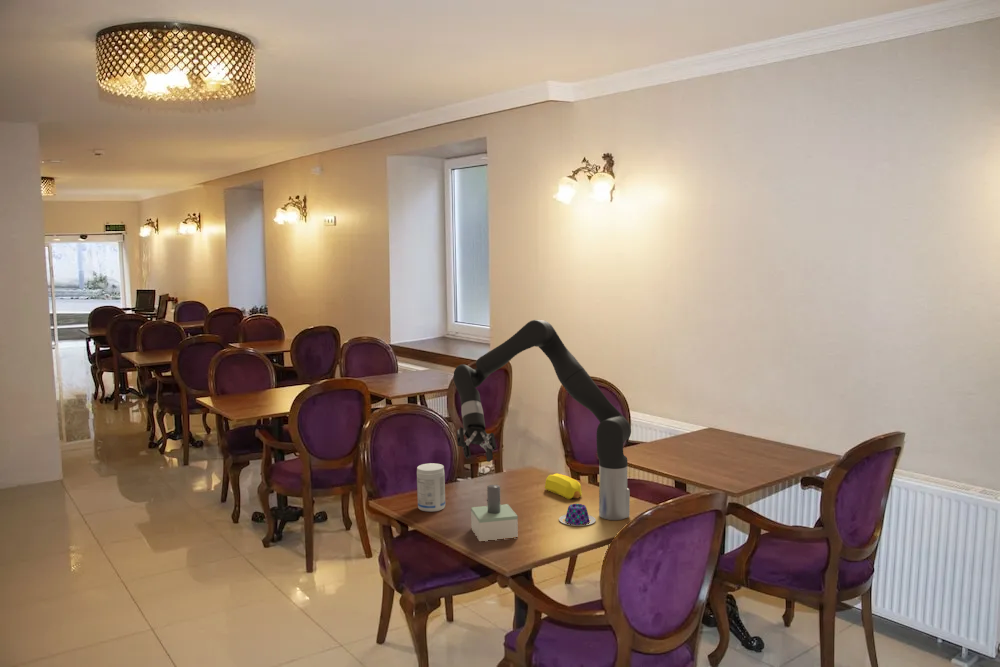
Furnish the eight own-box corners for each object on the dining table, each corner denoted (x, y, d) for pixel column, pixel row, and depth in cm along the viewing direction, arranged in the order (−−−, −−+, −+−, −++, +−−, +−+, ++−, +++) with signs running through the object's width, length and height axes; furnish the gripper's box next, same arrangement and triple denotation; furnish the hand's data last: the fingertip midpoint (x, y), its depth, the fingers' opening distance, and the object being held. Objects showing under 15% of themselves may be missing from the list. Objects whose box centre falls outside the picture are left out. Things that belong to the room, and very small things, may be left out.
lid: (507, 511, 247) (507, 479, 246) (517, 523, 235) (517, 490, 234) (471, 515, 244) (470, 482, 243) (479, 527, 233) (479, 493, 232)
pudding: (556, 516, 257) (556, 500, 256) (592, 515, 257) (592, 499, 257) (561, 528, 245) (561, 512, 244) (598, 527, 246) (598, 511, 245)
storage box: (507, 525, 247) (507, 507, 247) (517, 538, 236) (517, 519, 235) (471, 528, 245) (471, 510, 244) (479, 541, 233) (479, 522, 232)
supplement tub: (435, 502, 272) (434, 461, 271) (450, 508, 265) (450, 466, 263) (412, 507, 266) (411, 466, 265) (427, 514, 259) (426, 471, 257)
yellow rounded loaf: (556, 486, 290) (539, 490, 286) (556, 469, 289) (539, 472, 285) (587, 498, 275) (570, 502, 271) (587, 480, 274) (570, 484, 270)
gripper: (461, 408, 260) (467, 451, 251) (495, 415, 268) (502, 457, 258) (449, 418, 265) (455, 461, 256) (484, 424, 272) (490, 466, 263)
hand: (479, 459), depth 257 cm, fingers open, 8 cm apart
